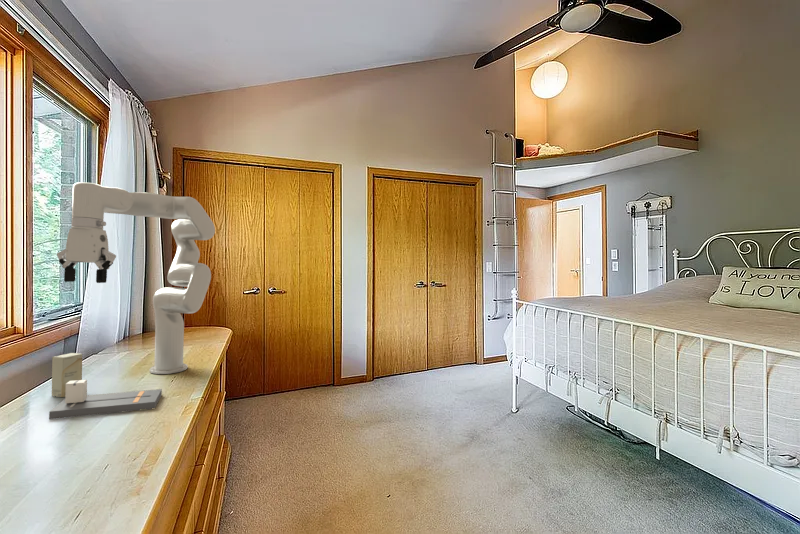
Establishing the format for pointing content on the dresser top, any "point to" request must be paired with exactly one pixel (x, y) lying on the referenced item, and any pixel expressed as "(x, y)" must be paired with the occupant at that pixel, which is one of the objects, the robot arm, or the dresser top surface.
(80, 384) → the fader tab
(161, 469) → the dresser top surface
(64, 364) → the skincare box
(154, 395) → the fader board
